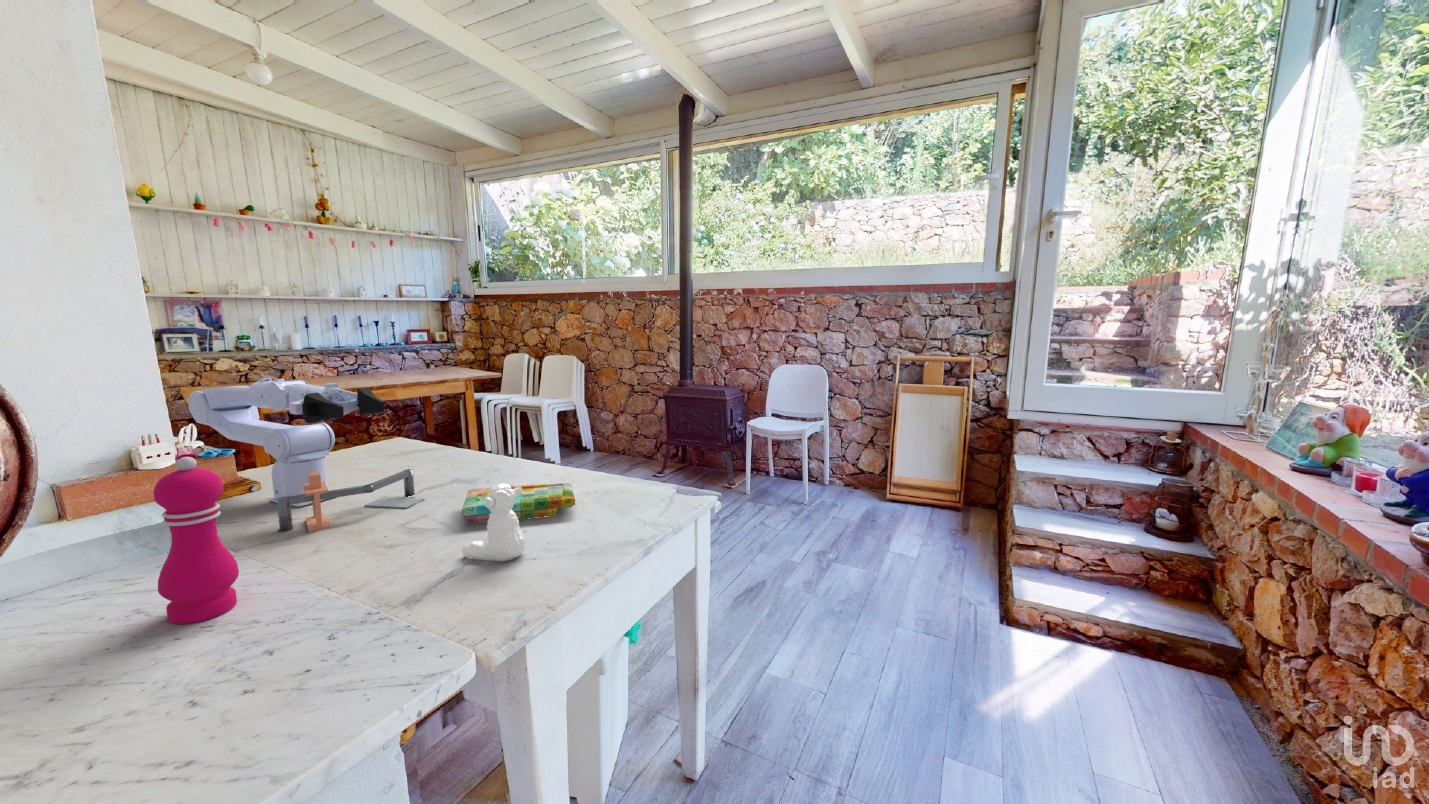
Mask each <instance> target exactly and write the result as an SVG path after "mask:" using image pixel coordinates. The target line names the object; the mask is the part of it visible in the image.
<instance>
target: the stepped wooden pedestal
mask: <svg viewBox="0 0 1429 804" xmlns="http://www.w3.org/2000/svg"><path fill="white" fill-rule="evenodd" d="M308 481H309V483H305V484H303V489H304V493H305V496H309V495H314V501H312V502H313V503H312V512H313V516H307V517H306V516H305V523H306V528H307V532H308V533H311V532H317V531H322V530H327V529H331V528H332V525H331V522H330V519H329V517H328V514H327V513H325V514H322V507H321V501H320V494H322V493H328V491H329V488H328V489H327V486H326V484H325V481H321V478H320V473H319V471H314V472H308Z"/></svg>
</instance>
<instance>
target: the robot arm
mask: <svg viewBox="0 0 1429 804" xmlns="http://www.w3.org/2000/svg"><path fill="white" fill-rule="evenodd" d="M356 389H357V391H356V392H353V391H349V390H346V389H342V388H339V384H338V383H336V382H328V383H326V384H325V385H324V386H321V385H315V384H314V385H313V384H310V382H309V381H307V380H304V379H297V380H285V379H284V378H275V379H274V380H272V378H271V377H268V378H267V377H264V378H259V380H258V381H256V382H255V381H254V383H252V384H251V385H231V386H230V385H229V386H220V387H215V388H214V387H213V388H205V389H202V390H201V391H200V390H195V391H192V392H191V394H190V395H189V396H188V400H187V406H188V410H189V413H190V414H191V416H192V417H193V420H195V422H196V423H197V424H201V425H205V426H209V427H212V428H213V430H215V431H217V432H218V434H220V435H222V436H223V437H225V439H228V440H231V441H236V442H240V443H245V444H246V443H247V444H251V445H255V446H260V447H263V450H264V453H266V454H269V455H270V456H271V457H273V458H274V459H275V460H276V461H275V462H274V464H273V465H272V467H271V479H272V489H273V490H272V491H273V493H272V494H273V497H271V498H269V499H268V502H271V501H272V502H273V503H276V504H277V498H280V497H289V496H296V495H303V494H305V493H304V489H303V484H305V483H309V481H308V472H314V471H319V473H320V478H321V481H325V484H326V486H327V489H328V490H329V488H328V486H329V485H328V475H327V464H326V463H327V460H326V456H329V455H330V453H329V452H330V451H331V450H332V449H333V448H334V445H335V442H336V437H335V432H334V431H333V428H331V426H330V425H329V424H327V423H325V422H322V421H324V420H336V419H342V418H344V417H345V415H348V414H350V413H352V412H355V411H356V410H358V409H359V417H365V416H369V415H372V414H379V413H385V402H384V400H382V399H380V398H378V397H377V396H376V395H375V394H374V392H373V390H372V389H371V388H367V387H360V388H356ZM258 408H261V409H272V410H271V411H273V412H278V411H279V412H280V411H283V410H289V414H292V415H295V416H297V415H303V420H304V422H305V423H307V425H290V424H285V423H284V424H283V423H278V422H271V421H268V420H267V421H266V420H260V415H259V409H258ZM314 423H315V424H314ZM325 500H327V499H324V500H320V502H322V501H325ZM312 504H313V502H312V501H311V502H304V503H298V504H292V505H291V507H297V508H301V507H303V506H306V505H307V506H308V505H312Z"/></svg>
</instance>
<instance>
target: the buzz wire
mask: <svg viewBox="0 0 1429 804" xmlns="http://www.w3.org/2000/svg"><path fill="white" fill-rule="evenodd" d="M401 480H403V486H404V487H403V489H404V497H405V496H406V497H408V496H412V495H415V482H414V481H415V480H414V469H411V468H408V469H407V468H406V469H403V470H402V471H399V472H397V473H395V474H392V475H389V476H386V477H385V478H381V479H379V480H377V481H373V482H371V483H368V484H364V485H358V486H353V487H345V488H337V489H331V490H328V493H322V494H320V500H322V501H325V500H324V499H326V500H330V499H336V498H342V497H348V496H356V495H363V494H370V493H373V492H375V491H377V490H379V489H383V488H385V487H387V486H390V485H391V484H394V483H397V482H399V481H401ZM406 497H405V498H406ZM311 501H314V495H309V496H305V494H303V495H296V496H289V497H280V498H277V503H276V504H277V506H276V507H277V516H278V517H277V518H278V525H279V528H278V529H279V532H282V533H284V532H285V533H286V532H288V531H292V530H293V529H294V527H293V517H292V516H293V515H292V514H293V513H292V506H291V505H292V504H298V503H304V502H311Z"/></svg>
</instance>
